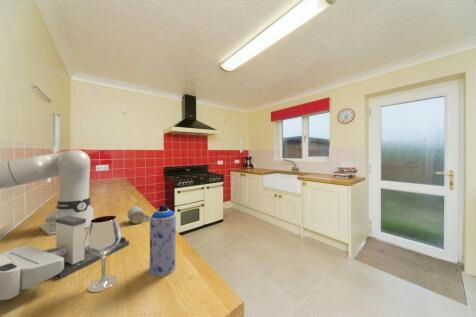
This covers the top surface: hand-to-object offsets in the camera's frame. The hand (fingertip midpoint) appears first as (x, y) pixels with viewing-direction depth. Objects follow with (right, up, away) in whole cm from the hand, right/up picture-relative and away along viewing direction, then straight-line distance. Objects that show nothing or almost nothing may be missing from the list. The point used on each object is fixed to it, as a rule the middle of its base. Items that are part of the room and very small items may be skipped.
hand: (65, 248), depth 54 cm
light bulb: (0, -6, +40) cm, 41 cm away
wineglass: (+18, -6, -7) cm, 20 cm away
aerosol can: (+31, -6, 0) cm, 32 cm away
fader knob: (0, -4, +2) cm, 5 cm away
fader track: (+2, -6, +7) cm, 9 cm away
